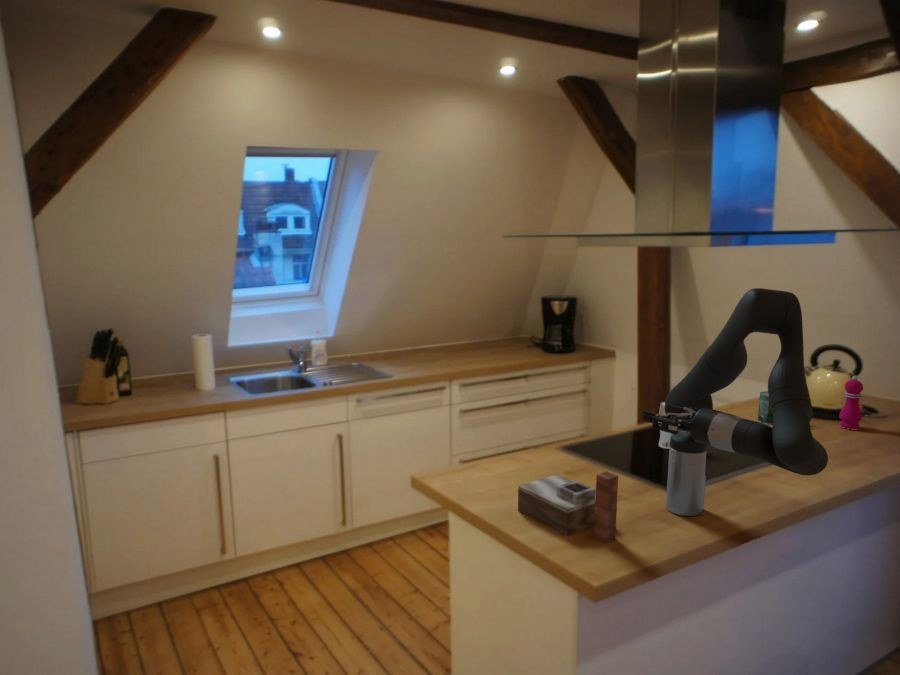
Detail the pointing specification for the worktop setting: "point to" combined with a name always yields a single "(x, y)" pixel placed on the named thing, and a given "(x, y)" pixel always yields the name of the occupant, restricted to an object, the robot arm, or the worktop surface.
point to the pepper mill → (851, 404)
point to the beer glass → (664, 436)
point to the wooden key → (606, 506)
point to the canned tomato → (765, 409)
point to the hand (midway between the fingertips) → (655, 412)
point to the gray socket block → (558, 503)
